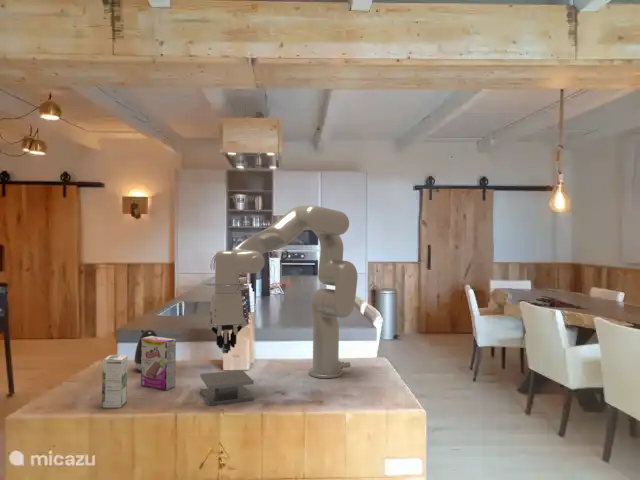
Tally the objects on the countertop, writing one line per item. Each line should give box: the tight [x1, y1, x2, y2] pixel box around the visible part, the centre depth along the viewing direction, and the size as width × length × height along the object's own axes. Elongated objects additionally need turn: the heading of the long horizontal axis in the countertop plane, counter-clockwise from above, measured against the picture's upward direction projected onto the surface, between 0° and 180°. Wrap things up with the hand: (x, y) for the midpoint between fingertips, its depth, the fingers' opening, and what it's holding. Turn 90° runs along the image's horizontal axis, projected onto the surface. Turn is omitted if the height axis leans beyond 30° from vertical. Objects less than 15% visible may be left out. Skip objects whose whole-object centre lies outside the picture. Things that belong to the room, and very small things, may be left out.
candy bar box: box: [140, 336, 177, 391], centre depth 175 cm, size 11×5×16 cm, turn 65°
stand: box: [199, 369, 255, 407], centre depth 166 cm, size 14×14×6 cm
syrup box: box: [101, 354, 128, 409], centre depth 157 cm, size 6×6×14 cm
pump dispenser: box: [133, 329, 159, 372], centre depth 196 cm, size 10×10×15 cm
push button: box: [221, 325, 233, 354], centre depth 166 cm, size 7×5×10 cm
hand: (226, 346), depth 166 cm, fingers closed on push button, 3 cm apart
